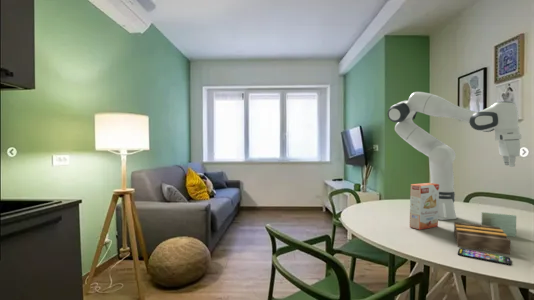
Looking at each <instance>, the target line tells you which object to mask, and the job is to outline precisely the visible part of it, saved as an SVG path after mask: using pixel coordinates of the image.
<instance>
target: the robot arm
mask: <svg viewBox="0 0 534 300" xmlns="http://www.w3.org/2000/svg"><path fill="white" fill-rule="evenodd" d="M418 113H420V114H424V115H427V116H430V117H435V118H436V117H437V118H450V119H456V120H459V121H462V122H466V123H468V124H469V126H471V128H472V129H474V130H476V131H479V132H484V133H489V132H494V140H495V141H498V154H499V156H502V159H503V165H504V166H509V167H511V168H512V167H516V160H517V158H516V157H519V156H520V153H521V139H522V134H521V132H520V127H519V124H518V123H519V113H518V107H517V105H516V104H515V103H514V102H513V101H512V102H511V101H496V102H494V103H493V104H492V105H490V106H489V107H487V108H484V109H482V110H480V111H475V110H470V109H467V108H464V107H461V106H459V105H457V104H455V103H453V102H451V101H450V100H447V99H446V98H444V97H442V96H439V95H436V94H434V93H429V92H424V91H414V92H412V93H411V94H410V96H409V97H408V99H405V100H402V101H399V102H397V103H395V104H392V105H391V106H390V107H389V108H388V109H387V114H386V115H387V118H388V119H389V121H391V122H392V123H395V125H394V131H395V133H396V134H397V135H398V136H399V137H400V138H401V139H403V141H405V142H406V143H407V144H409V145H410V146H411V147H413V148H414V149H415V150H417V151H418V152H419V153H422V154H423V155H425V156H426V157H428V164H429V173H430V183H434V184H439V205H438V221H439V220H441V221H446V220H456V219H457V218H458V217H457V212H456V209H455V208H456V207H455V202H456V201H455V200H456V194H455V189H454V188H455V185H454V184H455V177H454V161H455V160H456V156H457V155H456V152H455V150H454V149H453V148H452V147H451V146H449V145H447V144H446V143H445V142H443V141H441V140H440V139H438V138H437V137H435V136H434V135H432V134H431V133H429V132H427V131H426V130H425V129H423V128H422V127H420V126H419V125H417V124H416V123H415V122H414V121H413V120H415V119H416V115H417V114H418Z"/></svg>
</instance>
